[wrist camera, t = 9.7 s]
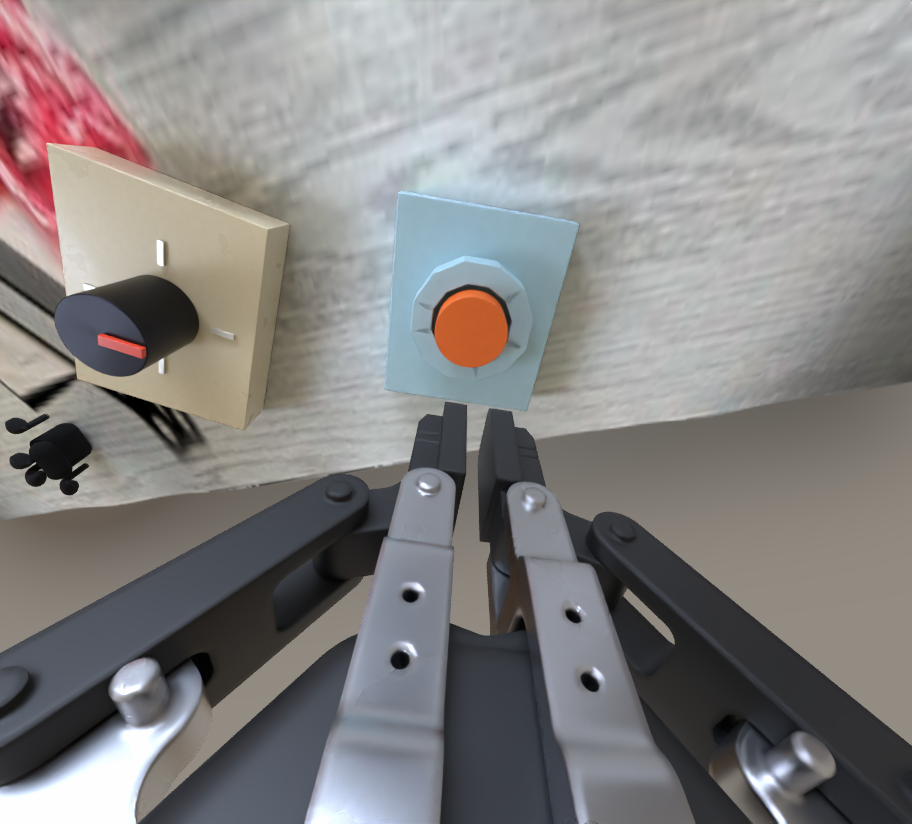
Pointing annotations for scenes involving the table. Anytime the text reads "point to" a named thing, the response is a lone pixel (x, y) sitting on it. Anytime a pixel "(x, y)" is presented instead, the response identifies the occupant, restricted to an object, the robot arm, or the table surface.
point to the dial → (126, 324)
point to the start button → (471, 328)
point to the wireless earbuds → (51, 453)
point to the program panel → (176, 275)
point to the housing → (482, 268)
